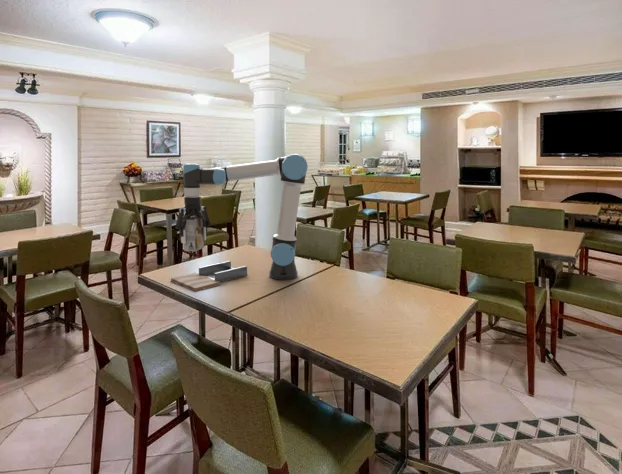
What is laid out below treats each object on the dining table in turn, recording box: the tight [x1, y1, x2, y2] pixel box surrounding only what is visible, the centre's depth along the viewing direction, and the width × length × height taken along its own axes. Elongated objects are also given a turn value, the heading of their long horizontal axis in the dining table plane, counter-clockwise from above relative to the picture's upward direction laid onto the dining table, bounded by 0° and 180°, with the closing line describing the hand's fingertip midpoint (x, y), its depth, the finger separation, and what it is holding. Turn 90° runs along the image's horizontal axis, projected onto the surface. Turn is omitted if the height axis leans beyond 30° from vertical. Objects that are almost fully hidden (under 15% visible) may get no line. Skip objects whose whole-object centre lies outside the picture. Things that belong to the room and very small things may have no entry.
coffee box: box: [183, 215, 205, 252], centre depth 202 cm, size 9×6×16 cm
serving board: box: [170, 272, 221, 292], centre depth 206 cm, size 22×14×2 cm, turn 49°
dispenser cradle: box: [198, 260, 248, 283], centre depth 219 cm, size 15×20×5 cm
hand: (193, 241), depth 202 cm, fingers closed on coffee box, 11 cm apart
